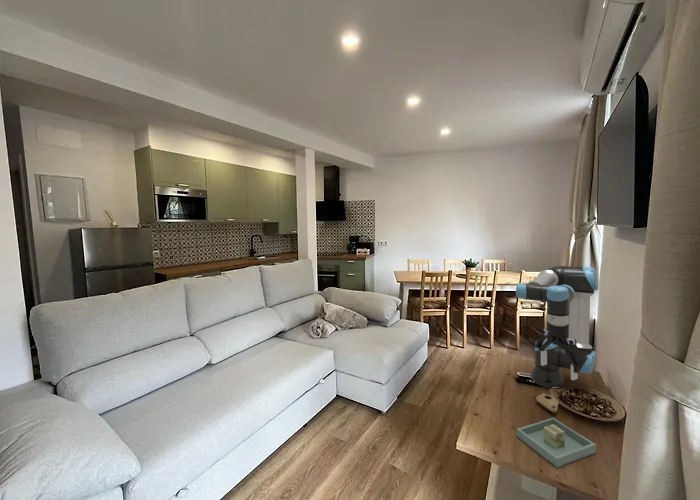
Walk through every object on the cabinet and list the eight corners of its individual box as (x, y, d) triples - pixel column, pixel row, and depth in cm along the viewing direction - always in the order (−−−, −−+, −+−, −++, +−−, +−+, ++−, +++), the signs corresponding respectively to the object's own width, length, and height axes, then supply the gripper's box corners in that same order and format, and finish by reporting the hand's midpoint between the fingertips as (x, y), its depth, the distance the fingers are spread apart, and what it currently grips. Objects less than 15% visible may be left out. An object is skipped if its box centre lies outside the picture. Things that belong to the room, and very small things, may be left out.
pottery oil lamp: (545, 415, 142) (537, 399, 145) (540, 409, 153) (533, 394, 156) (565, 410, 140) (557, 394, 143) (559, 405, 151) (551, 390, 153)
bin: (552, 425, 136) (552, 417, 136) (596, 453, 119) (596, 444, 119) (516, 436, 130) (516, 428, 130) (556, 467, 113) (556, 458, 113)
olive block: (552, 437, 128) (552, 424, 127) (564, 445, 123) (564, 431, 122) (543, 441, 126) (543, 427, 126) (555, 449, 121) (555, 434, 121)
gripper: (525, 316, 140) (526, 361, 142) (581, 335, 116) (581, 388, 118) (538, 313, 142) (539, 357, 144) (595, 331, 118) (595, 383, 121)
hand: (558, 371), depth 131 cm, fingers open, 13 cm apart
